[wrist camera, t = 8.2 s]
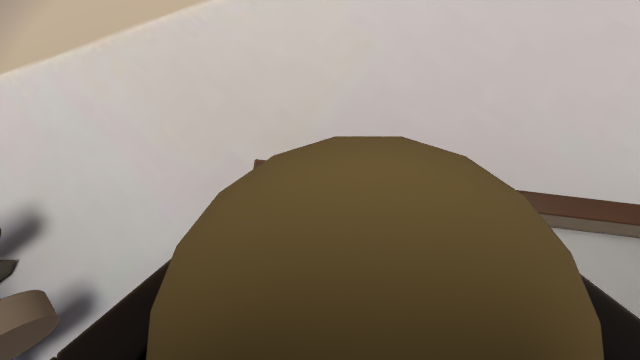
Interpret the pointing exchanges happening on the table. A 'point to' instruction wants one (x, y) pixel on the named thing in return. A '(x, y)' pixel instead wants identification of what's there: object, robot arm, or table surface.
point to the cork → (372, 265)
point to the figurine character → (23, 318)
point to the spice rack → (581, 213)
